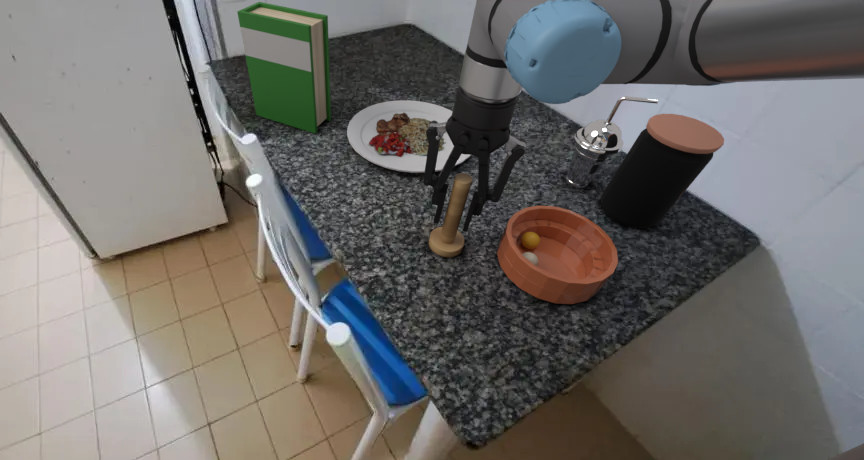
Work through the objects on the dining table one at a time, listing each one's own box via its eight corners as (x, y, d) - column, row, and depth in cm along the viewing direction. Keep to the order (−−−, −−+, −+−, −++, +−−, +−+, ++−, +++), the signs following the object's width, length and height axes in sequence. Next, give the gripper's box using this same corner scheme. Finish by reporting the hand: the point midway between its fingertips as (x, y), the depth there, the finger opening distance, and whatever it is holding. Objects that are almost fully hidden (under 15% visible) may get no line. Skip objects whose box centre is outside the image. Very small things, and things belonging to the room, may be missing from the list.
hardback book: (331, 119, 98) (327, 15, 81) (315, 133, 93) (308, 26, 76) (273, 102, 104) (259, 1, 86) (256, 114, 99) (237, 11, 82)
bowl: (601, 320, 59) (621, 298, 55) (490, 286, 63) (500, 263, 59) (597, 244, 70) (614, 220, 65) (502, 219, 74) (512, 195, 69)
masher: (459, 261, 67) (481, 195, 56) (424, 251, 68) (439, 185, 57) (465, 237, 71) (487, 171, 60) (432, 228, 72) (448, 162, 61)
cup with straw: (573, 164, 86) (619, 76, 72) (609, 187, 81) (667, 97, 66) (546, 176, 83) (588, 86, 69) (582, 201, 78) (635, 109, 63)
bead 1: (535, 254, 67) (542, 243, 65) (517, 249, 68) (523, 238, 66) (537, 242, 69) (543, 231, 67) (519, 237, 70) (525, 226, 68)
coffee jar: (667, 234, 72) (738, 152, 59) (606, 227, 73) (663, 145, 60) (646, 196, 79) (706, 116, 66) (591, 190, 80) (639, 110, 67)
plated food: (488, 125, 97) (492, 112, 95) (452, 195, 78) (456, 182, 76) (378, 97, 106) (379, 85, 104) (323, 153, 88) (323, 141, 85)
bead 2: (533, 276, 64) (540, 264, 62) (515, 270, 65) (520, 259, 62) (535, 263, 66) (541, 251, 64) (516, 257, 67) (522, 246, 64)
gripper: (562, 89, 49) (506, 221, 66) (428, 65, 53) (408, 195, 70) (561, 118, 44) (501, 252, 61) (413, 89, 48) (395, 223, 65)
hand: (451, 221), depth 65 cm, fingers open, 4 cm apart
